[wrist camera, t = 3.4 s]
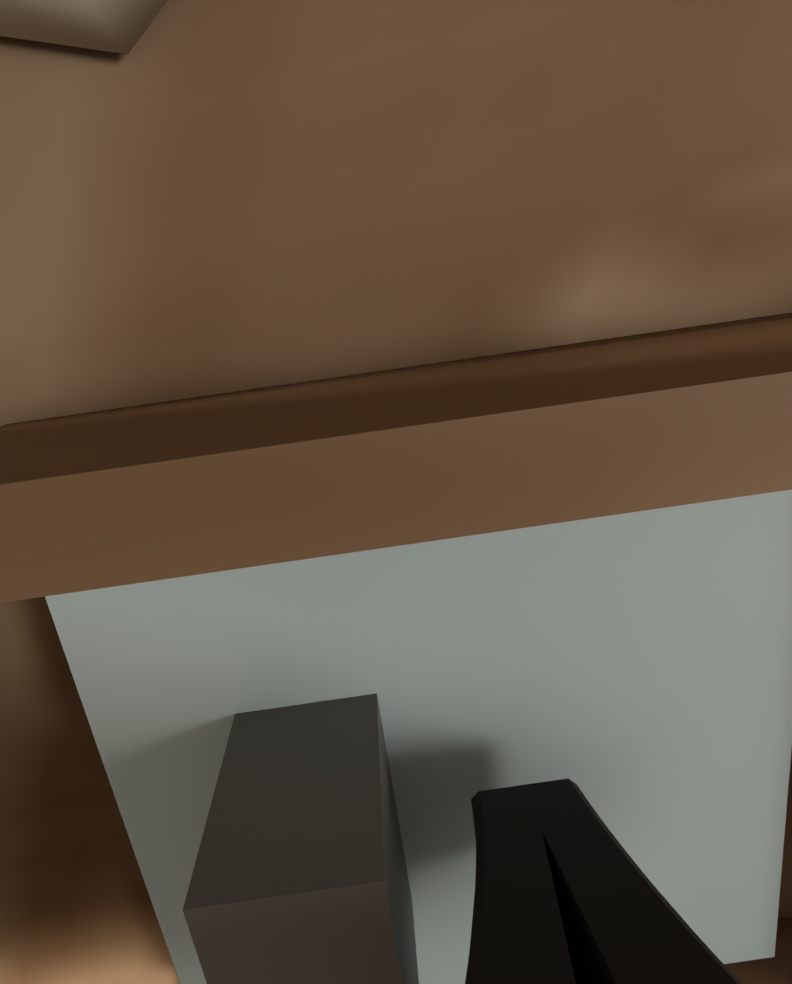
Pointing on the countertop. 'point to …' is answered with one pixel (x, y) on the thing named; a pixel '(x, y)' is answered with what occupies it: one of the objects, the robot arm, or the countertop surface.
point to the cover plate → (444, 732)
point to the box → (404, 468)
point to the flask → (79, 22)
